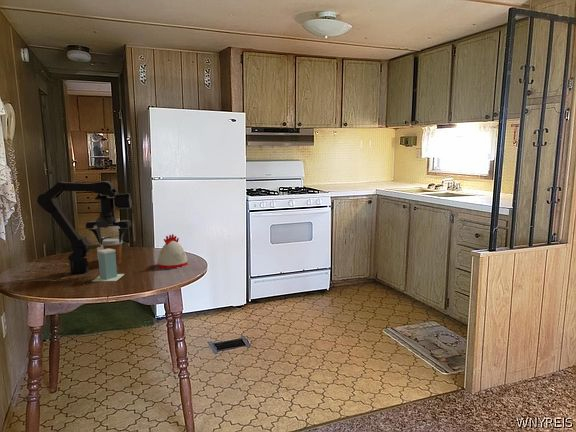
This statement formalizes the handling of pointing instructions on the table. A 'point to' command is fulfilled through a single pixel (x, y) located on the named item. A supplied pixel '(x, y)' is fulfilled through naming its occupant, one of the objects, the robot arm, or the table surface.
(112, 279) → the plate
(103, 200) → the robot arm
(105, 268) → the tea tin
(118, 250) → the disposable coffee cup
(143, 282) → the table surface
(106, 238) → the medicine bottle
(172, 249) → the kitchen timer
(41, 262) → the table surface
